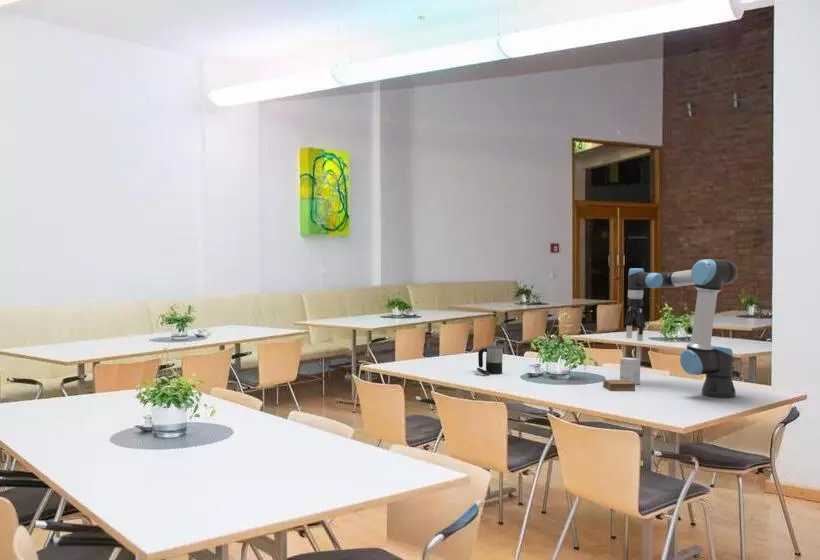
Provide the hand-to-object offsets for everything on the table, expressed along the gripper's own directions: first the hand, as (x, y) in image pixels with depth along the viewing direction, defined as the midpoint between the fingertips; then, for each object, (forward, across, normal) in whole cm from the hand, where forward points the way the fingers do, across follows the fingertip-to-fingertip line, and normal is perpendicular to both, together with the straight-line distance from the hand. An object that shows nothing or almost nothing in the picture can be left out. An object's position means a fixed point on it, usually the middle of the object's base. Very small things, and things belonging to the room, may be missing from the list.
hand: (634, 339), depth 421 cm
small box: (+23, -2, +3) cm, 23 cm away
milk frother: (+23, +33, +68) cm, 79 cm away
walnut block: (+23, -18, +15) cm, 32 cm away
